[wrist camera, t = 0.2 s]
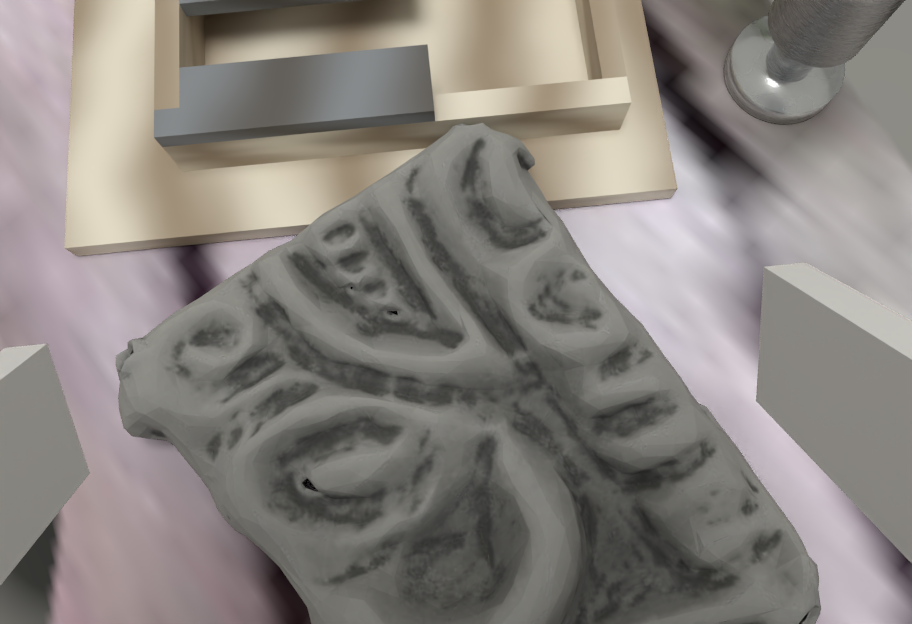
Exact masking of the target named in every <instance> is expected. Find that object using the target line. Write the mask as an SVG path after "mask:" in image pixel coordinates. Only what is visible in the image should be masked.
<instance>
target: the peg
mask: <svg viewBox="0 0 912 624" xmlns="http://www.w3.org/2000/svg"><path fill="white" fill-rule="evenodd" d="M904 1H905V0H774V1H773V3H772V5H771V7H770V10H769V13H768V16H766V17H762V18H760V19H758V20H756V21H754V22H752V23H751V24H749V25H748V26H747V27H746V28H745V29H744V30H743V31H742V32H741V33H740V34H739V36H738V37H737V39H736V41H735V42H734V44H733V46H732V47H731V49H730V51H729V53H728V55H727V57H726V60H725V65H724V78H725V83H726V86H727V88H728V91H729V93H730V94H731V96H732V98H733V99H734V100H735V101H736V103H737V104H738V105H739V106H740V107H741V108H742V109H743V110H745V111H746V112H747V113H749V114H751V115H752V116H754V117H756V118H758V119H760V120H763V121H766V122H770V123H775V124H794V123H799V122H802V121H805V120H807V119H810V118H812V117H813V116H815V115H816V114H818V113H819V112H820V111H821V110H822V109H823V108H824V107H825V106H826V105H827V104H828V103H829V102H830V101H831V99H832V98H833V97H834V96H835V95H836V94H837V92H838V91H839V89H840V88H841V85H842V83H843V80H844V76H845V63H846V62H847V61H849V60H851V59H852V58H853V57H854V56H856V54H857V53H858V52H859V51H860V50H861V49H862V48H863V47H864V46H865V44H866V43H867V42H868V41H869V40H870V39H871V38H872V37H873V35H874V34H875V33H876V32H877V31H878V30H879V29H880V28H881V27H882V26H883V24H884V23H885V22H886V21H887V20H888V19H889V18H890V17H891V16H892V14H893V13H894V12H895V11H896V10H897V9H898V8H899V7H900V6H901V4H902V3H903V2H904Z"/></svg>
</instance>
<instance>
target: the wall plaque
mask: <svg viewBox="0 0 912 624" xmlns="http://www.w3.org/2000/svg"><path fill="white" fill-rule="evenodd" d="M534 165H535V159H534V157H533V156H532V154H531V153H530V152H529V150H528V149H527V148H526V146H525V145H524V144H523V142H522V141H521V140H519V139H517V138H515V137H513V136H511V135H508V134H505V133H502V132H498V131H495V130H492V129H490V128H489V127H488V126H486V125H485V124H484V123H480V124H475V125H465V124H463V123H461V124H458V125H455V126H453V127H452V128H451V129H450V130H449V131H448V133H446V134H445V135H444V136H442V137H441V138H439V139H438V140H437V141H435V142H434V143H433V144H431V145H430V146H428V147H427V148H426V149H424V150H423V151H421V152H420V153H418V154H417V155H415V156H414V157H412V158H411V159H409V160H408V161H407V162H405V163H404V164H402V165H401V166H399V167H398V168H396V169H395V170H393V171H392V172H390V173H389V174H387V175H386V176H384V177H383V178H381V179H380V180H378V181H377V182H375V183H374V184H372V185H370V186H369V187H367V188H366V189H364V190H363V191H361V192H360V193H358V194H357V195H355V196H354V197H352V198H350V199H348V200H346V201H345V202H343V203H341V204H339V205H337V206H336V207H334V208H332V209H330V210H329V211H327V212H325V213H323V214H322V215H321V216H319V217H318V218H317V219H316V220H315V221H314V222H312V223H311V224H310V225H309V226H308V227H306V228H305V229H304V230H303V231H302V232H301V233H299V234H298V235H297V236H296V237H295V238H293V239H292V240H291V241H289V242H287V243H285V244H283V245H281V246H278V247H276V248H274V249H272V250H270V251H268V252H267V253H265V254H264V255H263V256H261V257H260V258H259V259H257V260H256V261H255V262H253V263H252V264H250V265H249V266H247V267H245V268H244V269H242V270H240V271H239V272H237V273H236V274H234V275H233V276H231V277H230V278H228V279H227V280H225V281H224V282H222V283H221V284H219V285H218V286H216V287H215V288H213V289H212V290H210V291H209V292H207V293H206V294H205V295H203V296H202V297H200V298H199V299H197V300H195V301H194V302H192V303H190V304H188V305H187V306H185V307H183V308H182V309H180V310H178V311H176V312H175V313H173V314H172V315H171V316H170V317H168V318H167V319H166V320H165V321H163V322H162V323H161V324H159V325H158V326H157V327H156V328H154V329H153V330H152V331H151V332H149V333H148V334H147V335H146V336H144V337H143V338H138V339H132V340H130V341H129V342H128V349H127V350H125V351H123V352H121V353H120V354H118V355H116V367H117V371H118V376H119V380H120V388H119V397H118V399H119V411H120V415H121V419H122V423H123V427H124V428H125V429H126V430H127V432H128V433H129V434H130V435H131V436H135V437H142V438H150V439H160V440H168V441H169V442H170V443H171V444H173V445H174V446H175V447H176V448H177V450H178V451H179V452H180V453H181V455H182V456H183V457H184V458H185V460H186V461H187V462H188V463H189V464H190V466H191V467H192V468H193V469H194V471H195V472H196V473H197V474H198V475H199V477H200V478H201V479H202V481H203V482H204V483H205V485H206V486H207V487H208V489H209V490H210V492H211V495H212V497H213V499H214V501H215V504H216V506H217V508H218V510H219V512H220V513H221V515H222V516H223V517H224V519H225V520H226V521H227V522H228V523H229V524H230V525H231V526H232V527H233V528H234V529H235V530H236V531H238V532H239V533H241V534H243V535H245V536H246V537H247V538H248V539H250V540H251V541H252V542H253V543H254V544H255V545H257V546H258V547H259V548H260V549H261V550H263V551H264V552H265V553H266V554H267V555H268V556H269V557H270V558H271V559H272V560H273V561H274V562H275V563H276V564H277V565H278V566H279V567H280V568H281V570H282V571H283V573H284V574H285V576H286V577H287V578H288V580H289V581H290V583H291V584H292V586H293V587H294V589H295V590H296V591H297V593H298V594H299V596H300V597H301V599H302V600H303V601H304V603H305V604H306V606H307V608H308V612H309V616H310V620H311V624H815V623H816V621H817V619H818V617H819V615H820V610H821V605H820V598H819V591H818V585H819V576H818V569H817V565H816V564H815V562H814V561H813V560H812V559H811V558H810V557H809V556H808V554H807V552H806V549H805V547H804V545H803V542H802V540H801V539H800V537H799V535H798V534H797V532H796V530H795V528H794V527H793V525H792V524H791V523H790V521H789V520H788V519H787V517H786V516H785V514H784V513H783V512H782V510H781V509H780V508H779V506H778V505H777V504H776V502H775V501H774V499H773V498H772V497H771V495H770V494H769V493H768V491H767V490H766V488H765V487H764V486H763V484H762V483H761V482H760V480H759V479H758V478H757V476H756V475H755V473H754V472H753V470H752V469H751V467H750V466H749V464H748V463H747V461H746V460H745V458H744V457H743V455H742V453H741V452H740V450H739V449H738V448H737V446H736V445H735V444H734V443H733V441H732V440H731V439H730V437H729V436H728V435H727V434H726V432H725V431H724V430H723V429H722V427H721V426H720V425H719V423H718V422H717V421H716V419H715V418H714V417H713V415H712V414H711V412H710V411H709V410H708V408H707V407H706V406H703V405H701V404H699V403H698V402H697V401H696V400H695V398H694V397H693V396H692V395H691V393H690V392H689V390H688V388H687V387H686V385H685V384H684V382H683V380H682V379H681V377H680V376H679V375H678V373H677V372H676V371H675V369H674V368H673V367H672V365H671V364H670V363H669V361H668V360H667V359H666V357H665V356H664V355H663V353H662V352H661V350H660V349H659V348H658V346H657V345H656V343H655V342H654V341H653V339H652V338H651V336H650V335H649V333H648V332H647V331H646V329H645V328H644V326H643V325H642V324H641V323H640V322H639V321H638V320H637V319H636V318H635V317H634V316H633V315H632V314H631V313H630V312H629V311H628V310H627V309H626V308H625V307H624V306H623V305H622V304H621V303H620V302H619V301H618V300H617V299H616V298H615V297H614V296H613V294H612V293H611V292H610V291H609V290H608V288H607V287H606V286H605V285H604V284H603V282H602V281H601V280H600V279H599V278H598V276H597V275H596V274H595V273H594V272H593V270H592V269H591V268H590V266H589V264H588V263H587V261H586V260H585V258H584V256H583V255H582V253H581V252H580V250H579V248H578V247H577V245H576V243H575V242H574V240H573V238H572V237H571V235H570V233H569V231H568V230H567V228H566V226H565V225H564V223H563V221H562V220H561V219H560V217H559V216H558V215H557V214H556V213H555V211H554V210H553V209H552V208H551V207H550V205H549V204H548V202H547V200H546V198H545V197H544V195H543V193H542V191H541V190H540V188H539V187H538V185H537V184H536V182H535V181H534V179H533V178H532V176H531V175H530V173H529V172H528V170H529V169H530V168H531V167H533V166H534ZM350 286H351V287H353V288H352V289H351V287H350ZM389 311H397V313H398V315H395V314H393V313H391V312H389ZM307 478H308V480H309V481H310V482H311V483H312V484H313V486H314V487H315V488H316V489H317V490H319V491H313V490H310V489H307V488H306V487H305V486H304V484H303V481H304V480H306V479H307Z"/></svg>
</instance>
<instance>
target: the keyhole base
mask: <svg viewBox="0 0 912 624" xmlns="http://www.w3.org/2000/svg"><path fill="white" fill-rule="evenodd" d="M461 123H463V124H465V125H475V124H480V123H484V124H485V125H486V126H488V127H489V128H490V129H492V130H495V131H498V132H502V133H505V134H508V135H511V136H513V137H515V138H517V139H519V140H521V141H522V142H523V144H524V145H525V146H526V148H527V149H528V150H529V152H530V153H531V154H532V156H533V157H534V159H535V165H534V166H533V167H531V168H530V169H529V170H528V172H529V173H530V175H531V176H532V178H533V179H534V181H535V182H536V184H537V185H538V187H539V188H540V190H541V191H542V193H543V195H544V197H545V198H546V200H547V202H548V204H549V205H550V207H551V208H552V209H563V208H574V207H584V206H594V205H604V204H615V203H625V202H635V201H645V200H656V199H666V198H671V197H672V196H673V194H674V193H675V191H676V190H677V183H676V178H675V173H674V168H673V163H672V158H671V152H670V147H669V142H668V137H667V132H666V127H665V122H664V116H663V111H662V106H661V101H660V96H659V91H658V85H657V80H656V75H655V70H654V65H653V60H652V55H651V49H650V44H649V39H648V34H647V29H646V24H645V19H644V13H643V8H642V3H641V0H75V6H74V31H73V55H72V79H71V104H70V128H69V152H68V177H67V201H66V225H65V249H67V250H68V251H70V252H71V253H73V254H75V255H76V256H83V255H93V254H103V253H113V252H124V251H134V250H144V249H154V248H164V247H175V246H185V245H195V244H205V243H216V242H226V241H236V240H246V239H257V238H267V237H277V236H287V235H297V234H299V233H301V232H302V231H303V230H304V229H305V228H306V227H308V226H309V225H310V224H311V223H312V222H314V221H315V220H316V219H317V218H318V217H319V216H321V215H322V214H323V213H325V212H327V211H329V210H330V209H332V208H334V207H336V206H337V205H339V204H341V203H343V202H345V201H346V200H348V199H350V198H352V197H354V196H355V195H357V194H358V193H360V192H361V191H363V190H364V189H366V188H367V187H369V186H370V185H372V184H374V183H375V182H377V181H378V180H380V179H381V178H383V177H384V176H386V175H387V174H389V173H390V172H392V171H393V170H395V169H396V168H398V167H399V166H401V165H402V164H404V163H405V162H407V161H408V160H409V159H411V158H412V157H414V156H415V155H417V154H418V153H420V152H421V151H423V150H424V149H426V148H427V147H428V146H430V145H431V144H433V143H434V142H435V141H437V140H438V139H439V138H441V137H442V136H444V135H445V134H446V133H448V131H449V130H450V129H451V128H452V127H453V126H455V125H458V124H461Z"/></svg>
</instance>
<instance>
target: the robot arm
mask: <svg viewBox="0 0 912 624" xmlns="http://www.w3.org/2000/svg"><path fill="white" fill-rule="evenodd" d="M756 401H757V402H758V403H759V404H760V405H761V406H762V408H763V409H764V410H765V411H766V412H767V413H768V414H769V415H770V416H771V417H772V418H773V419H774V420H775V421H776V422H777V423H778V424H779V425H780V426H781V427H782V428H783V429H784V430H785V432H786V433H787V434H788V435H789V436H790V437H791V438H792V439H793V440H794V441H795V442H796V443H797V444H798V445H799V446H800V447H801V448H802V449H803V450H804V451H805V452H806V453H807V455H808V456H809V457H810V458H811V459H812V460H813V461H814V462H815V463H816V464H817V465H818V466H819V467H820V468H821V469H822V470H823V471H824V472H825V473H826V474H827V475H828V476H829V477H830V479H831V480H832V481H833V482H834V483H835V484H836V485H837V486H838V487H839V488H840V489H841V490H842V491H843V492H844V493H845V494H846V495H847V496H848V497H849V498H850V499H851V500H852V502H853V503H854V504H855V505H856V506H857V507H858V508H859V509H860V510H861V511H862V512H863V513H864V514H865V515H866V516H867V517H868V518H869V519H870V520H871V521H872V522H873V523H874V525H875V526H876V527H877V528H878V529H879V530H880V531H881V532H882V533H883V534H884V535H885V536H886V537H887V538H888V539H889V540H890V541H891V542H892V543H893V544H894V545H895V546H896V547H897V549H898V550H899V551H900V552H901V553H902V554H903V555H904V556H905V557H906V558H907V559H908V560H909V561H910V562H911V563H912V321H911V320H910V319H908V318H906V317H904V316H902V315H900V314H899V313H897V312H895V311H893V310H891V309H889V308H888V307H886V306H884V305H882V304H880V303H878V302H877V301H875V300H873V299H871V298H869V297H868V296H866V295H864V294H862V293H860V292H858V291H857V290H855V289H853V288H851V287H849V286H847V285H846V284H844V283H842V282H840V281H838V280H836V279H835V278H833V277H831V276H829V275H827V274H826V273H824V272H822V271H820V270H818V269H816V268H815V267H813V266H811V265H809V264H807V263H797V264H787V265H778V266H769V267H764V276H763V293H762V310H761V327H760V344H759V361H758V378H757V395H756ZM89 473H90V472H89V469H88V466H87V463H86V460H85V457H84V454H83V451H82V448H81V445H80V442H79V439H78V436H77V433H76V429H75V426H74V423H73V420H72V417H71V414H70V411H69V408H68V405H67V402H66V399H65V396H64V393H63V390H62V387H61V384H60V381H59V378H58V375H57V372H56V369H55V365H54V362H53V359H52V356H51V353H50V350H49V347H48V344H39V345H30V346H20V347H11V348H5V349H3V350H2V351H0V585H1V584H2V583H3V582H4V580H5V579H6V578H7V577H8V575H9V574H10V573H11V572H12V570H13V569H14V568H15V566H16V565H17V564H18V563H19V561H20V560H21V559H22V558H23V556H24V555H25V554H26V552H27V551H28V550H29V549H30V548H31V546H32V545H33V544H34V543H35V541H36V540H37V539H38V538H39V536H40V535H41V534H42V532H43V531H44V530H45V529H46V527H47V526H48V525H49V524H50V522H51V521H52V520H53V519H54V517H55V516H56V515H57V514H58V512H59V511H60V510H61V509H62V507H63V506H64V505H65V504H66V502H67V501H68V500H69V499H70V497H71V496H72V495H73V494H74V492H75V491H76V490H77V488H78V487H79V486H80V485H81V483H82V482H83V481H84V480H85V478H86V477H87V476H88V475H89Z"/></svg>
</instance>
